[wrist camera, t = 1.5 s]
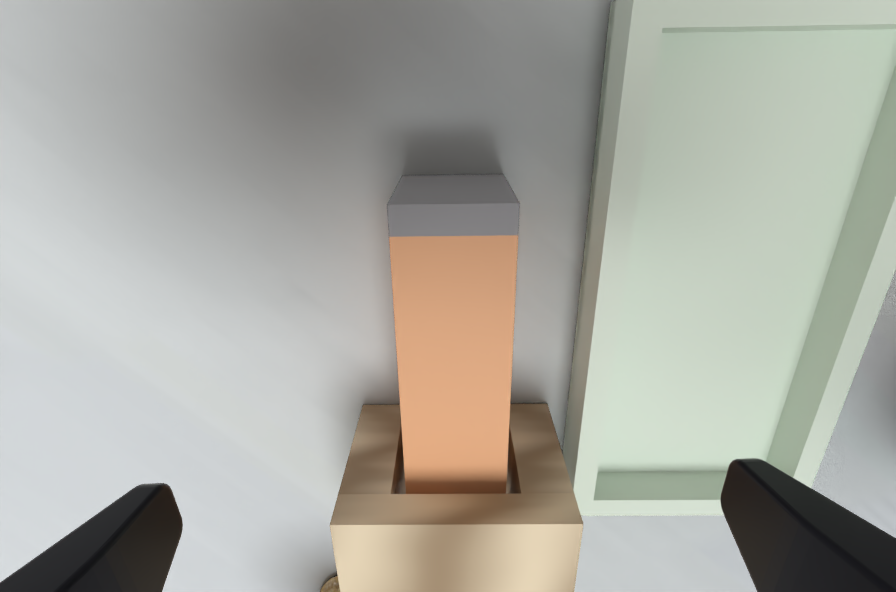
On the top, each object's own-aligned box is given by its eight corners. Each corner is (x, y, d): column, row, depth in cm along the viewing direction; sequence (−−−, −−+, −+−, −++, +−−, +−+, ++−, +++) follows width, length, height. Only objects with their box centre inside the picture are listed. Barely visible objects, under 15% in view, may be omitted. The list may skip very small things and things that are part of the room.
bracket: (547, 403, 23) (583, 524, 17) (539, 495, 26) (568, 631, 19) (362, 404, 24) (329, 524, 17) (372, 496, 26) (346, 631, 20)
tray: (932, -3, 16) (1006, -17, 14) (770, 477, 25) (800, 514, 23) (610, 2, 17) (634, -10, 14) (560, 478, 25) (570, 515, 23)
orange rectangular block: (503, 174, 19) (519, 203, 14) (494, 451, 25) (504, 535, 20) (402, 175, 19) (387, 204, 15) (416, 451, 25) (408, 535, 20)
